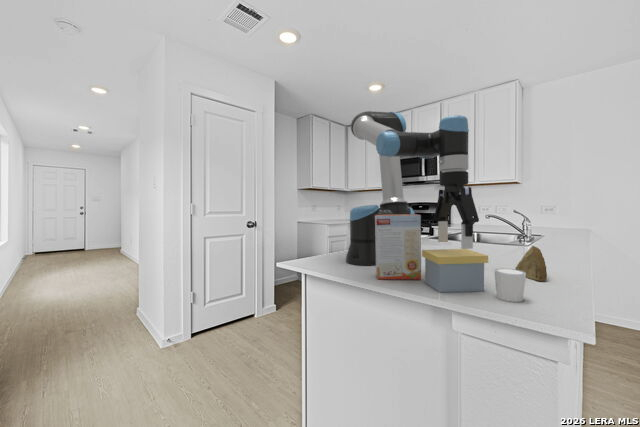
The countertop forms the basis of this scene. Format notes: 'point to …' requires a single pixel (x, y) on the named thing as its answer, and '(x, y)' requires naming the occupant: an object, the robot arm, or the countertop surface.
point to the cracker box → (398, 246)
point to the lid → (454, 256)
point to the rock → (533, 264)
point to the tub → (454, 276)
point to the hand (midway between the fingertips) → (454, 245)
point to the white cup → (510, 284)
